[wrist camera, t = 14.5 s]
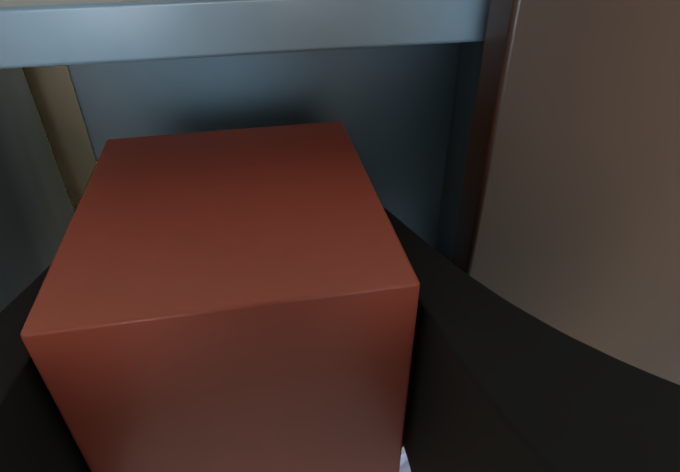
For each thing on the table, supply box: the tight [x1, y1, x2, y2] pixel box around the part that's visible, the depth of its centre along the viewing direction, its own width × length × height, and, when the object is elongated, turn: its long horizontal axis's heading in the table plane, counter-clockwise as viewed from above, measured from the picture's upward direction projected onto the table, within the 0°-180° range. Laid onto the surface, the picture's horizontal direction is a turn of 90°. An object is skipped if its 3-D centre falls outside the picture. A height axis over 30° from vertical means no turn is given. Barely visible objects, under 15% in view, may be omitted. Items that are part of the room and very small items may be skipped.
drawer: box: [0, 0, 491, 312], centre depth 12 cm, size 17×11×6 cm, turn 90°
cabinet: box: [451, 0, 680, 385], centre depth 14 cm, size 14×12×8 cm
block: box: [21, 121, 420, 472], centre depth 9 cm, size 4×4×5 cm
